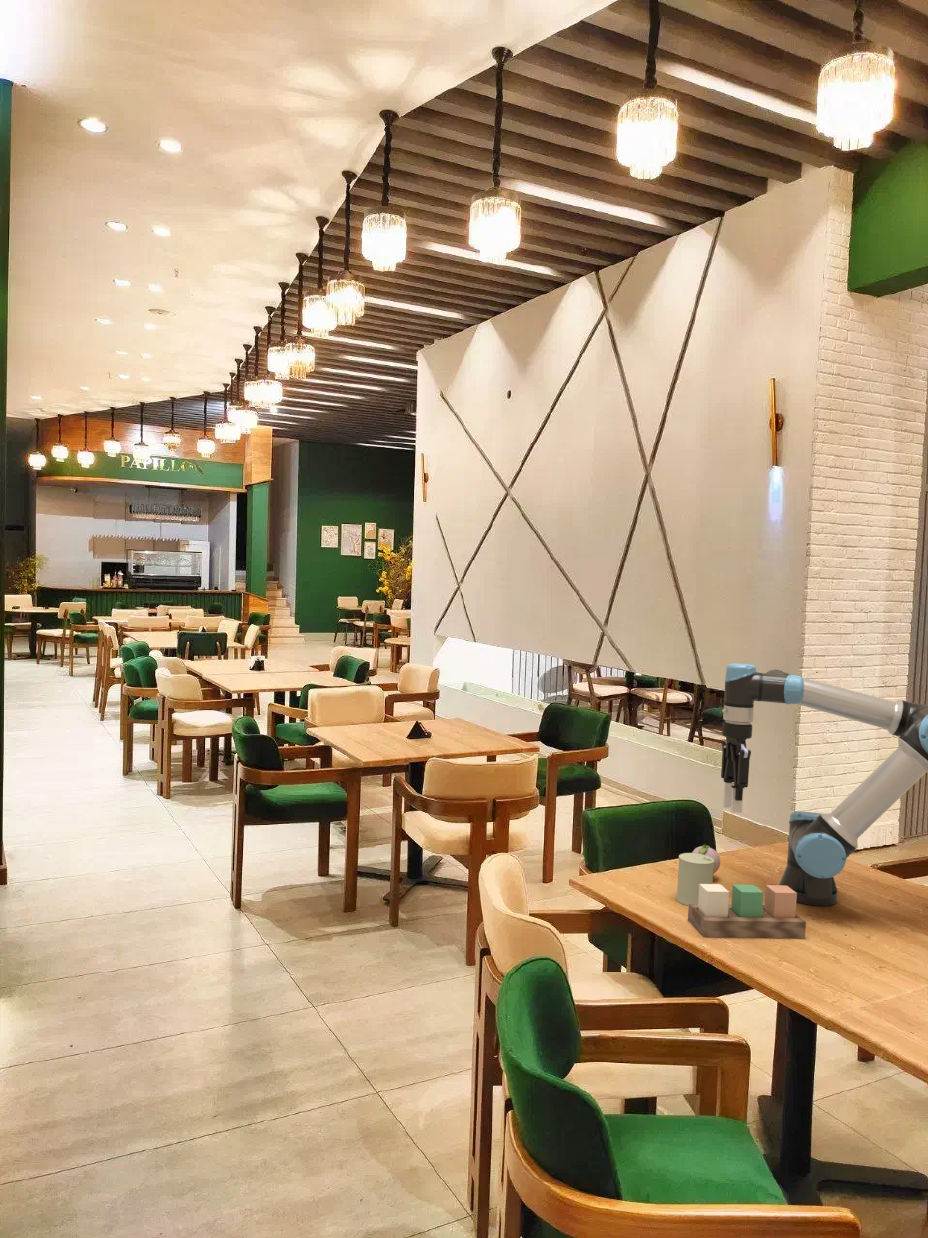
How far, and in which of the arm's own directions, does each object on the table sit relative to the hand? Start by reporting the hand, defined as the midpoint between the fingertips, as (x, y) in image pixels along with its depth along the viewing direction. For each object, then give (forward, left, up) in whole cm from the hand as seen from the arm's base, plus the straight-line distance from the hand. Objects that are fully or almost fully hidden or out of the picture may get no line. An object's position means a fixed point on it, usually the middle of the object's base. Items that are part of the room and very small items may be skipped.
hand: (732, 809), depth 234 cm
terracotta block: (-6, +19, -22) cm, 29 cm away
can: (+9, 0, -25) cm, 26 cm away
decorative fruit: (-1, -19, -25) cm, 31 cm away
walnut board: (+3, +19, -25) cm, 31 cm away
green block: (+3, +19, -22) cm, 29 cm away
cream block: (+12, +19, -22) cm, 31 cm away
